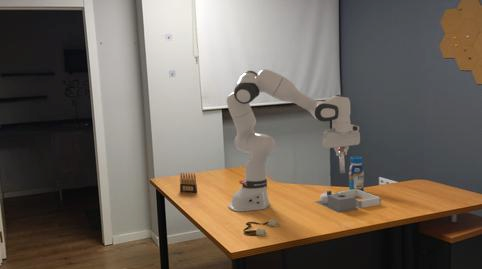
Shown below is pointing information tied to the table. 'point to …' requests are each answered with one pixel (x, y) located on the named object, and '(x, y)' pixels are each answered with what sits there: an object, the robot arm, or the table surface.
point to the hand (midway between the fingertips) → (341, 155)
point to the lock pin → (341, 160)
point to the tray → (369, 198)
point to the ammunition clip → (188, 183)
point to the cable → (261, 231)
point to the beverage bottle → (356, 174)
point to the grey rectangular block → (338, 201)
